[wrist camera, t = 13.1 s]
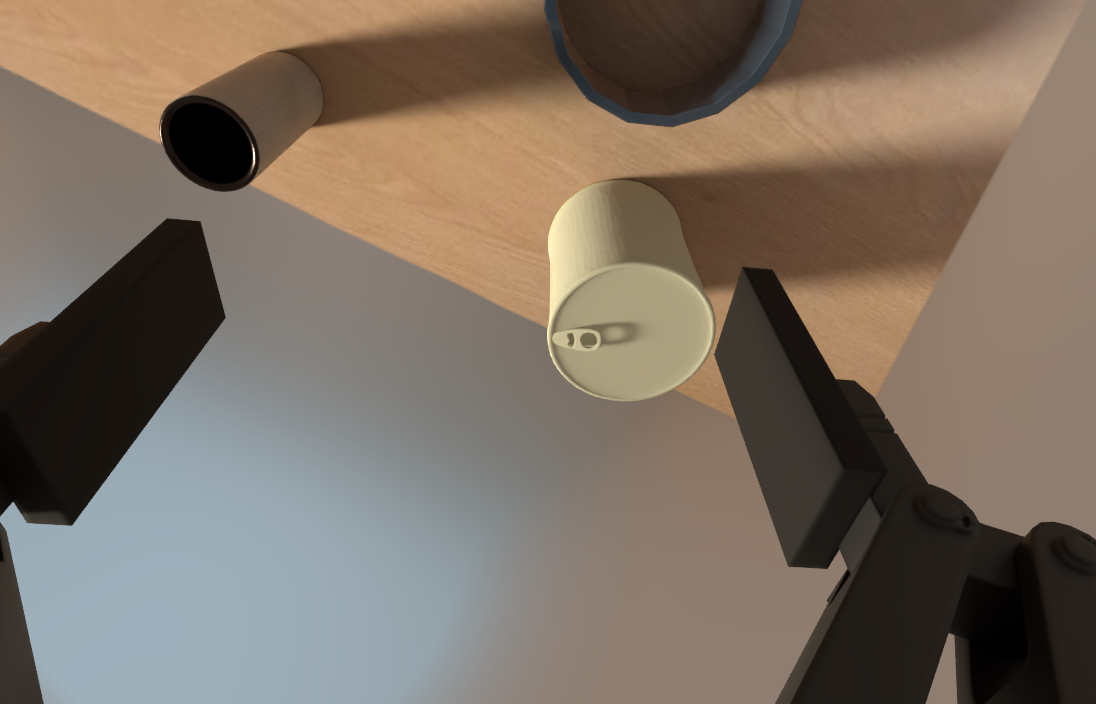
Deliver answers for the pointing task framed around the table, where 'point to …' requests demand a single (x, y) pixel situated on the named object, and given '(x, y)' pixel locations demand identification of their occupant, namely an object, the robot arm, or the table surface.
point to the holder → (692, 99)
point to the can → (625, 294)
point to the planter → (241, 120)
